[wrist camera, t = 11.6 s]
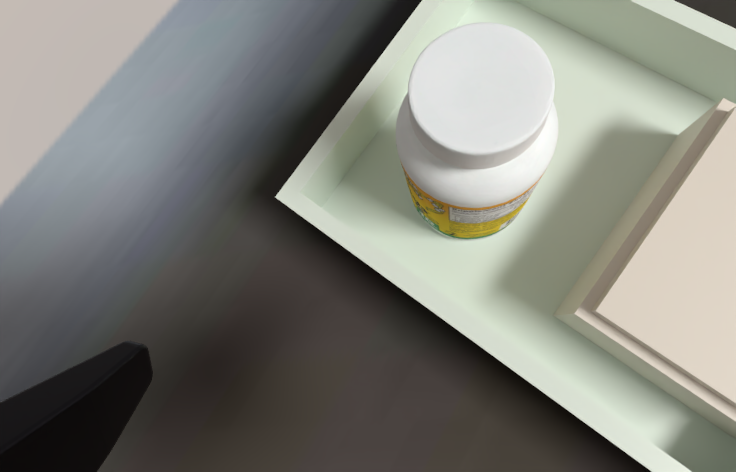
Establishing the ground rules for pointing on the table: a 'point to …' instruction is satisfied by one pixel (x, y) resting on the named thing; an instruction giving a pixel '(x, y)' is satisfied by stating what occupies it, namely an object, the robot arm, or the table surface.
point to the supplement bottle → (477, 128)
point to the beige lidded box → (673, 274)
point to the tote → (538, 200)
